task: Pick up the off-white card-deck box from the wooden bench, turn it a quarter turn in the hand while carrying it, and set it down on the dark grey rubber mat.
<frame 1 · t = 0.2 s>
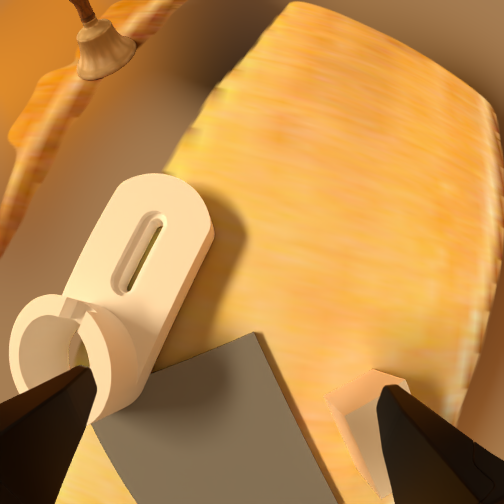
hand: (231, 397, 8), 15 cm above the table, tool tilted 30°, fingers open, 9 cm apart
hand bell: (106, 59, 30), on the table
card deck box: (364, 421, 21), on the table
bracket: (127, 298, 23), on the table, touching grey rubber mat
grey rubber mat: (208, 466, 20), on the table
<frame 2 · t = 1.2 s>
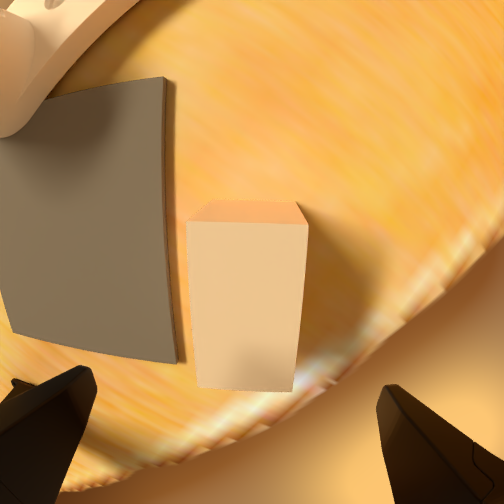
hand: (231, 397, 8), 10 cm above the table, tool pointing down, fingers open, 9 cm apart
card deck box: (252, 267, 18), on the table
bracket: (63, 19, 13), on the table, touching grey rubber mat
grey rubber mat: (60, 231, 18), on the table
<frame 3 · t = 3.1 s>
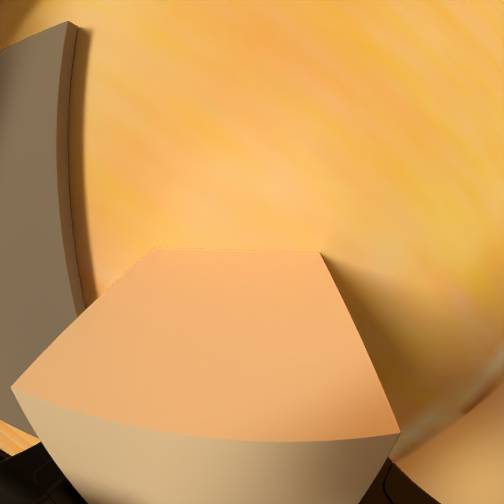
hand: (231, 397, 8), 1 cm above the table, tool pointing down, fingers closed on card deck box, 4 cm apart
card deck box: (235, 369, 9), on the table, touching gripper
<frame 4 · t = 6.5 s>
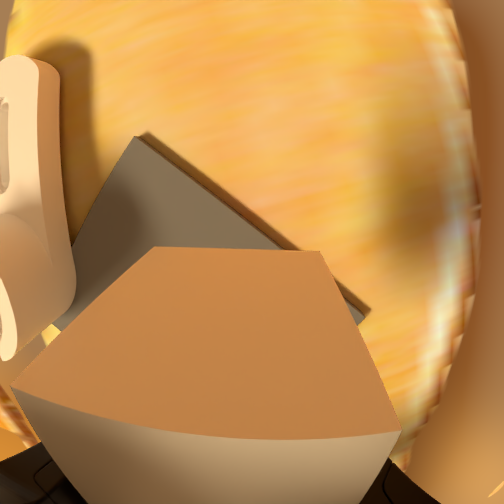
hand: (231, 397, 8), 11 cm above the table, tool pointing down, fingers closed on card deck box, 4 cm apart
card deck box: (235, 368, 9), point 10 cm above the table, touching gripper
bracket: (23, 190, 18), on the table, touching grey rubber mat
grey rubber mat: (182, 319, 20), on the table
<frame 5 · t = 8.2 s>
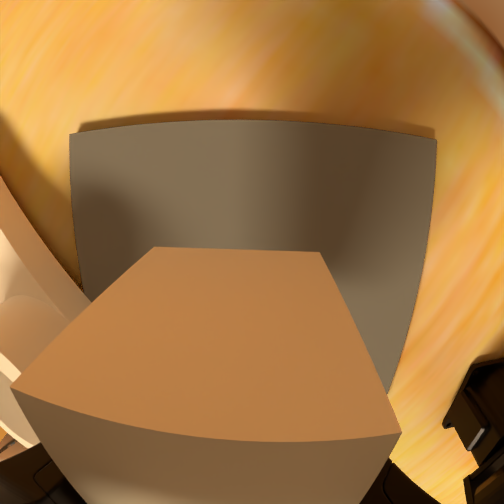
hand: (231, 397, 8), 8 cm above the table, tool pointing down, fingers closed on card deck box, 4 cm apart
ink cartridge box: (32, 437, 23), on the table
card deck box: (235, 369, 9), point 6 cm above the table, touching gripper
bracket: (16, 275, 16), on the table, touching grey rubber mat
grey rubber mat: (245, 288, 15), on the table
when the fingers open (3 cm above the table, at t = 9.9 s): card deck box drops 1 cm, resting on grey rubber mat.
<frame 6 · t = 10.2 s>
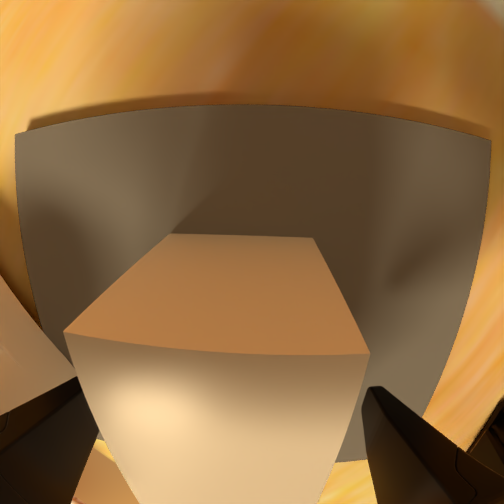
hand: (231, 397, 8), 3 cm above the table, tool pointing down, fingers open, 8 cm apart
card deck box: (239, 344, 11), point 1 cm above the table, touching grey rubber mat
grey rubber mat: (239, 335, 11), on the table
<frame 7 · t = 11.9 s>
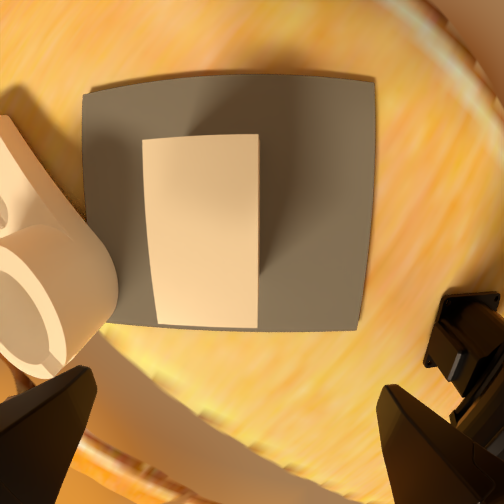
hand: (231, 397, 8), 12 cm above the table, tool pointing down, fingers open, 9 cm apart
card deck box: (220, 211, 18), point 1 cm above the table, touching grey rubber mat
bracket: (27, 219, 19), on the table, touching grey rubber mat
grey rubber mat: (221, 209, 18), on the table
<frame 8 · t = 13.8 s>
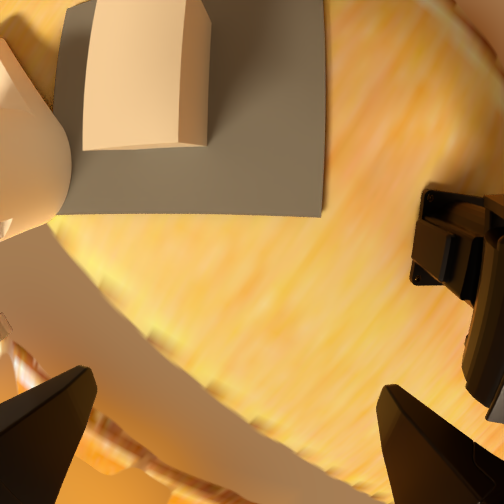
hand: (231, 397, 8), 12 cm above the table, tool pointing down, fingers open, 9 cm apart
card deck box: (171, 83, 16), point 1 cm above the table, touching grey rubber mat
bracket: (4, 122, 17), on the table, touching grey rubber mat
grey rubber mat: (173, 85, 16), on the table
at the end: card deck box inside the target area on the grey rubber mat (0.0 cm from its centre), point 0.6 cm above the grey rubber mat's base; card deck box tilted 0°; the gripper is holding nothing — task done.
